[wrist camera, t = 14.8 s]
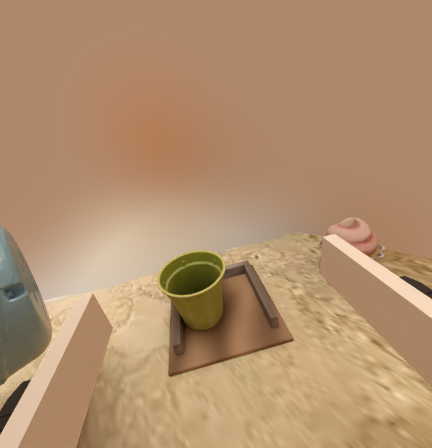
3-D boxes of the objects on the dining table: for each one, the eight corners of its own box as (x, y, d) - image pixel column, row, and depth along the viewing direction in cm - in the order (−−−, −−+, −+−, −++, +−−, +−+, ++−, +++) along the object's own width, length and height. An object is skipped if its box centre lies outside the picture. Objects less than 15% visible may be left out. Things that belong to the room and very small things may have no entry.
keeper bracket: (169, 376, 25) (163, 364, 24) (172, 287, 40) (168, 277, 38) (293, 340, 26) (292, 327, 25) (252, 266, 41) (251, 256, 40)
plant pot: (246, 309, 31) (239, 263, 28) (200, 358, 26) (183, 309, 22) (206, 284, 38) (196, 244, 34) (162, 319, 33) (144, 276, 29)
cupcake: (316, 282, 34) (318, 230, 30) (316, 251, 42) (318, 205, 37) (387, 293, 30) (401, 234, 26) (374, 255, 38) (383, 204, 33)
